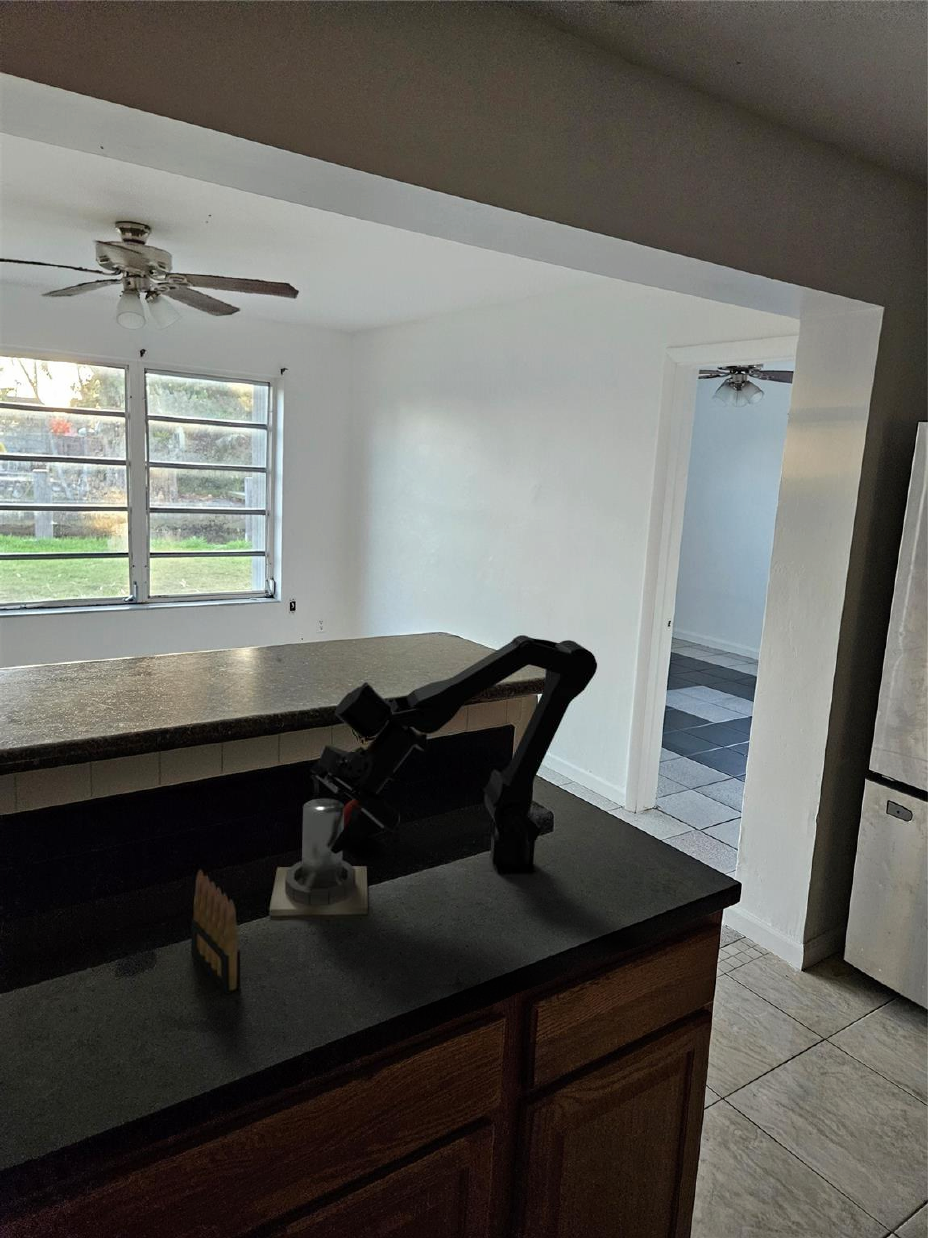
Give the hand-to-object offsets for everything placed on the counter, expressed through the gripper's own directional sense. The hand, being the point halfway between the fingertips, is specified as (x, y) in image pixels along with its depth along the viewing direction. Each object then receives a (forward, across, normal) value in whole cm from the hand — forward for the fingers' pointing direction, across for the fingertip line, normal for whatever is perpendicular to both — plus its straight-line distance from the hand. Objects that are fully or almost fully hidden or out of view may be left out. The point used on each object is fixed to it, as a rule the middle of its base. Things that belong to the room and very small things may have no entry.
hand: (317, 839), depth 117 cm
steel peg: (+5, 0, +6) cm, 8 cm away
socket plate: (+6, 0, +7) cm, 9 cm away
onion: (-4, -13, +17) cm, 22 cm away
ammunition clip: (+20, +9, -7) cm, 23 cm away
